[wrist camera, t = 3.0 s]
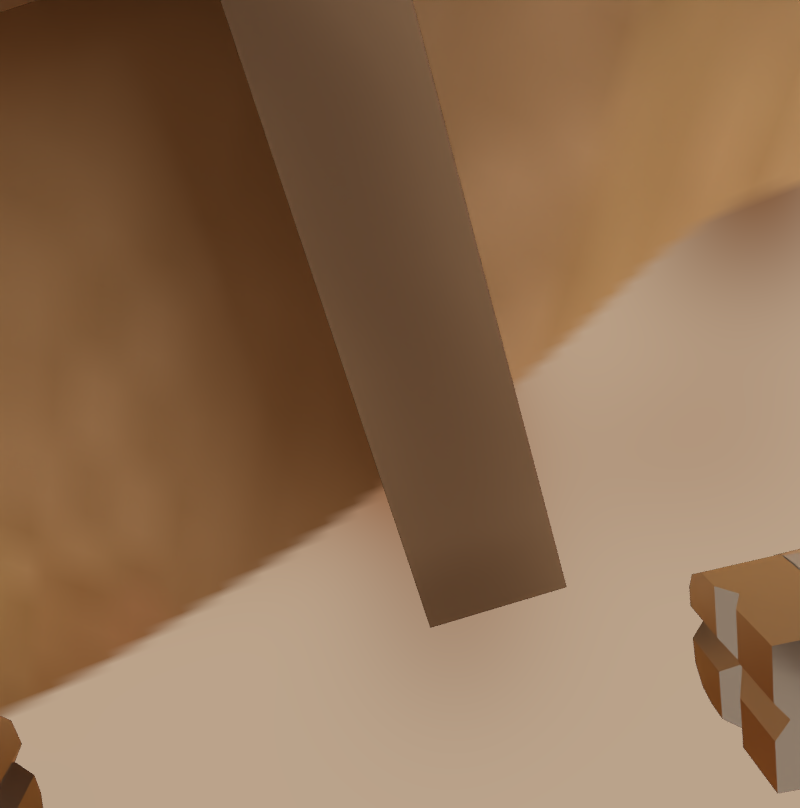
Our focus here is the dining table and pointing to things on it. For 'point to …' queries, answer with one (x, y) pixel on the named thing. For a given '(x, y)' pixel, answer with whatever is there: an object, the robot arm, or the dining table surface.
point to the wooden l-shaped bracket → (401, 290)
